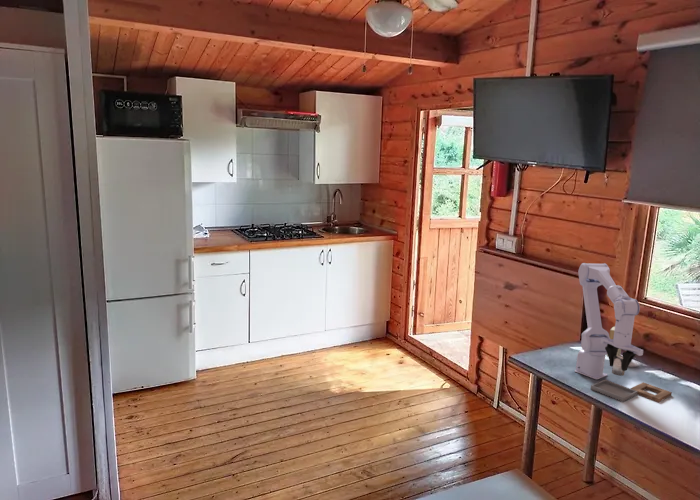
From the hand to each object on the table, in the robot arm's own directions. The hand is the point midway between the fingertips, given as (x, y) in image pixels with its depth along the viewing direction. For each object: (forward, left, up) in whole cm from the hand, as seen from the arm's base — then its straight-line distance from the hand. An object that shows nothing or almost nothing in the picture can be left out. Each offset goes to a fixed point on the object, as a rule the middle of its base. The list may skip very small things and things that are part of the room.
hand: (618, 368), depth 190 cm
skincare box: (-19, +36, -10) cm, 42 cm away
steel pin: (0, 0, -2) cm, 2 cm away
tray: (0, -1, -9) cm, 9 cm away
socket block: (+8, +10, -9) cm, 16 cm away
